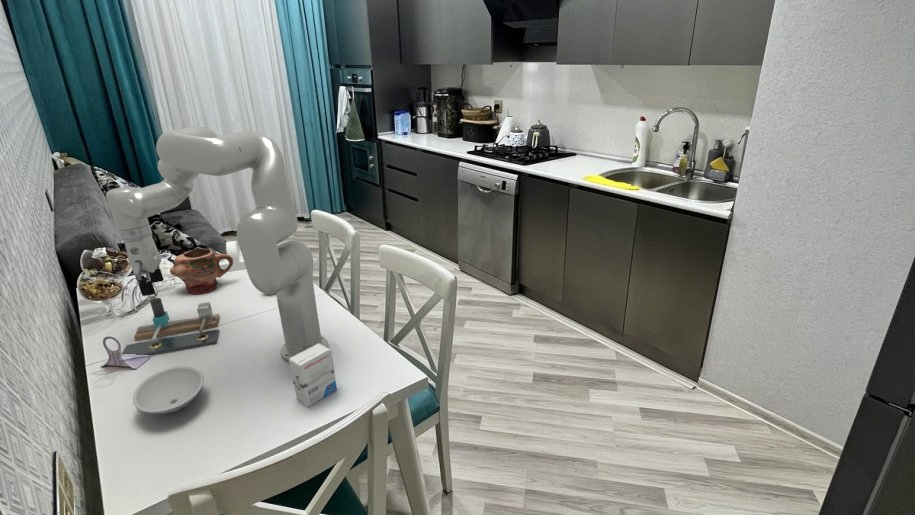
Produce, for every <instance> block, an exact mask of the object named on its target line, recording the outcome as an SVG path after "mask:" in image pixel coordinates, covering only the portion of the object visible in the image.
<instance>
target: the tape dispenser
mask: <svg viewBox="0 0 915 515" xmlns="http://www.w3.org/2000/svg"><path fill="white" fill-rule="evenodd" d="M225 250H226V254H227V255H230V256H231V257H232V259H233V265H232V266H231V268H230V269H229V271H228V272H227V273H232V272H239V271H245V270H246V271H247V269H246V266H245V262H244V259H243V256H242V253H241V249H240V246H239V243H238V240H231V241H226V243H225ZM229 264H230V263H229V261H228V260H227V259H222V260H220V262H219V265H220V268H221V269H223V270H224V269H226V268H227V267H228V266H229Z"/></svg>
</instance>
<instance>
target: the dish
mask: <svg viewBox="0 0 915 515" xmlns="http://www.w3.org/2000/svg"><path fill="white" fill-rule="evenodd" d="M204 383H205V376H204V374H203V372H202V371H200V370H199V369H198V368H196V367H193V366H186V365H183V366H182V365H181V366H180V365H179V366H173V367H170V368H165V369H162V370H159V371H157V372H156V373H154V374H152V375H150V376H149V377H147V378H146V379H144V380H142V382H141V383H140V384H138V386H137V387H136V389H135V391H133V395H132V404H133V406H134V407H135V408H136V409H137V410H138V411H140V412H143V413H148V414H159V415H161V414H169V413H173V412H176V411H178V410H181V409H182V408H184V407H185V406H187V405H188V404H190V402H192V401H193V400H194V398H195V397H196V396H197V395H198V394H199V393H200V391H201V390H202V388H203V386H204Z"/></svg>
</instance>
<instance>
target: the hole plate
mask: <svg viewBox="0 0 915 515" xmlns="http://www.w3.org/2000/svg"><path fill="white" fill-rule="evenodd" d="M202 333H203V335H202V336H201V335H200V332H195V333H188V334H182V335H176V336H171V337H163V338H159V339H155V341H156V344H154V343H153V340H152V339H151V340H147V341H142V342H135V343H131V344H126V346H125V347H124V348H123V351H122V352H121V354H136V355H142V354H143V355H149V356H148V357H152V356H157V354H158V355H163V354H169V353H174V352H179V351H180V352H181V351H185V350H191V349H196V348H202V347H207V346H213V345H217V344H218V340H219V336H220V333H221V332H220V329H219V328H218V329H211V330H207V331H202ZM162 353H163V354H162ZM150 355H151V356H150Z"/></svg>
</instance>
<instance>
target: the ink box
mask: <svg viewBox="0 0 915 515" xmlns="http://www.w3.org/2000/svg"><path fill="white" fill-rule="evenodd" d="M333 360H334V359H333V354H332V349H331V348H329V347H328V348H327V347H326V346H324V345H322V344H320V343H318V344H316V345H314V346H313V347H311V348H309V349H307V350H305V351H303V352H301V353H299V354H297V355H295V356H293V357H291V358H289V361H288V362H289V368H290V373H291V377H292V378H291V379H292V382H293V383H292V384H293V388H294V392H295V393H294V394H295V397H296V400H297V401H298V402H300V403H301V404H302V405H304V406H306V408H309V407H311V406H312V405H314V404H315V403H317V402H319V401H320V400H321V399H324V397H326V396H328V395H329V394H331V393H332V392H334V391H335V390H337V388H338V387H337V380H336V374H335V367H334V361H333Z"/></svg>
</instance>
